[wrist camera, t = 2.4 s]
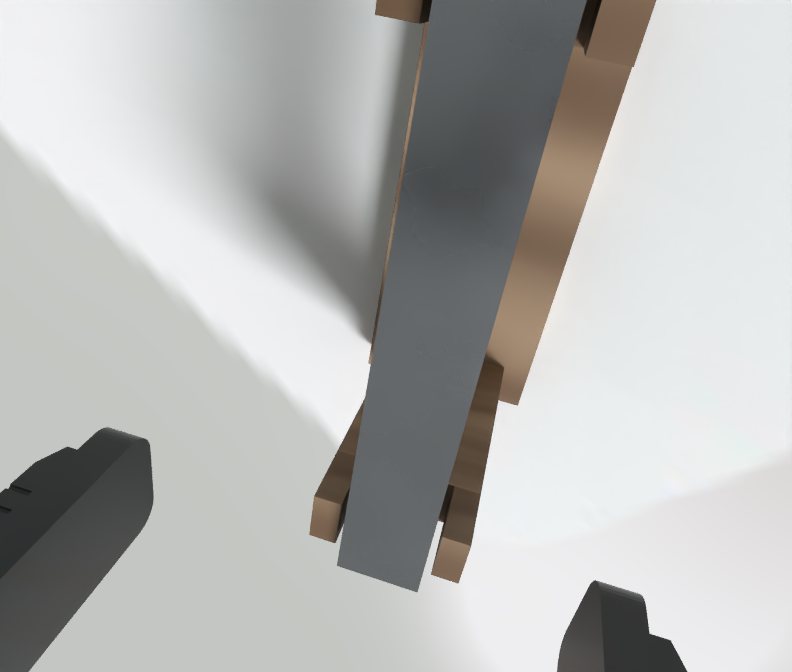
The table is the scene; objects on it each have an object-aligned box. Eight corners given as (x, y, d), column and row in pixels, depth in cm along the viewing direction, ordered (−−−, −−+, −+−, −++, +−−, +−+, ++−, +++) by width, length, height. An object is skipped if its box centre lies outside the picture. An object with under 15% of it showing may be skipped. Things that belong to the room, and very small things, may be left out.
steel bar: (474, -100, 14) (452, -121, 11) (606, -77, 13) (613, -94, 11) (361, 505, 24) (336, 565, 22) (434, 528, 24) (417, 592, 21)
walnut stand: (446, -60, 23) (332, -107, 12) (657, -21, 22) (737, -36, 11) (376, 349, 33) (278, 524, 22) (519, 389, 32) (491, 594, 21)
